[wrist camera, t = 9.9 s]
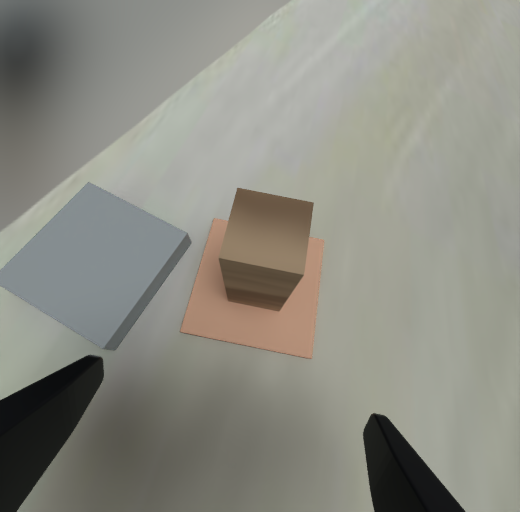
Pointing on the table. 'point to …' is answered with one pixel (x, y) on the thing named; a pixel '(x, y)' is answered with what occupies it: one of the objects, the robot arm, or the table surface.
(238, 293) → the walnut block
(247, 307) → the terracotta mat
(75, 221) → the grey ledge
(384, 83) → the table surface
